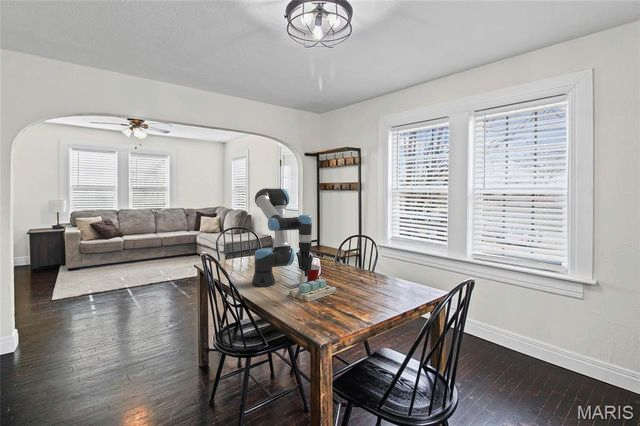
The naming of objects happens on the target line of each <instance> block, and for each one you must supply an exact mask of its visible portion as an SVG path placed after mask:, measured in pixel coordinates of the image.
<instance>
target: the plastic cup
mask: <svg viewBox="0 0 640 426" xmlns="http://www.w3.org/2000/svg"><path fill="white" fill-rule="evenodd" d="M321 268H322V267H321V266H320V265H317V264H312V266H311V270H309V271H308V276H307V282H311V281H315V280H318V278H319V272H320V270H321ZM307 282H306V283H307Z"/></svg>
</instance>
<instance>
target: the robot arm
mask: <svg viewBox="0 0 640 426" xmlns="http://www.w3.org/2000/svg"><path fill="white" fill-rule="evenodd" d="M254 203H255V205H256V207H258V208H259V209H260V210H261V211H262V213H263V214H264V216H265V218H266V219H267V228H268V230H269V231H271V232H274V239H275V240H274V241H275V245H274V246H273V248H272V247H262V248H259V249H256V250H255V252H254V272H253V277H252V280H251V285H252V286H254V287H257V288H258V287H261V288H263V287H264V288H265V287H271V286H273V285H275V284H276V280H275V276H274V272H273V268H278V267H279V268H281V267H288V266H291V265H292V264H294V261H295V256H297V263H298V269H300V270H301V276H302V277H301V282H302V283H307V276H308V271H309V270H311V266H312V265H313V260H314V258H315V254H312V231H313V230H312V229H313V228H312V227H313V220H312V219H313V217H312V215H311V214H299V216H291V217H287V216H286V209H287V207H288V205H289V203H290V195H289V192H288V190H287V189H285V188H265V187H264V188H262V189H260V190H258V191H257V192H256V194H255V196H254ZM288 231H298V248H299V250H298V251H296V252H295V251H294V249H293V248H292V247H291V244H289V239H288V237H289V236H288Z"/></svg>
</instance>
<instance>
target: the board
mask: <svg viewBox="0 0 640 426" xmlns="http://www.w3.org/2000/svg"><path fill="white" fill-rule="evenodd" d="M335 293H337V288H336V287H335V286H333V285H332V286H331V285H327V284H326V287H323V288H319V289H317V290H314V291H312V290H310V292H307V293H302V292H299V287H296V288H293V289H292V288H291V289H289V291H288V296H291V297H292V298H296V299H299V300H302V301H305V302H306V303H309V302H312V301H314V300H317V299H320V298H323V297H326V296H328V295H332V294H335Z"/></svg>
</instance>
